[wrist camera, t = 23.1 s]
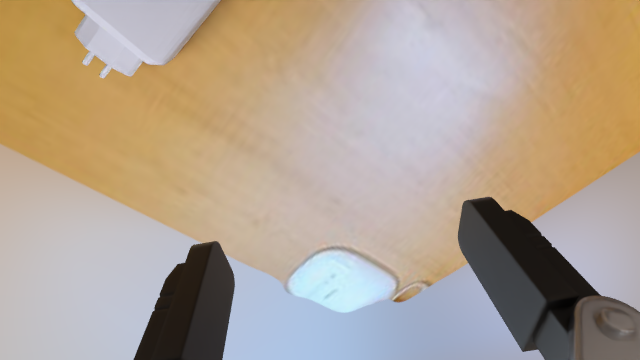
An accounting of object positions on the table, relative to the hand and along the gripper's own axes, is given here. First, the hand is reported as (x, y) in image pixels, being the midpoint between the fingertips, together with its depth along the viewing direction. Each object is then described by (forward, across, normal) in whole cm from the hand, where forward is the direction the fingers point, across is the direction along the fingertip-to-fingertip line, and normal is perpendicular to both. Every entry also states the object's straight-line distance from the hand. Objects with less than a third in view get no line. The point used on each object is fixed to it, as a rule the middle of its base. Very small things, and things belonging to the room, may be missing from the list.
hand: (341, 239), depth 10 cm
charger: (+29, +15, -6) cm, 33 cm away
